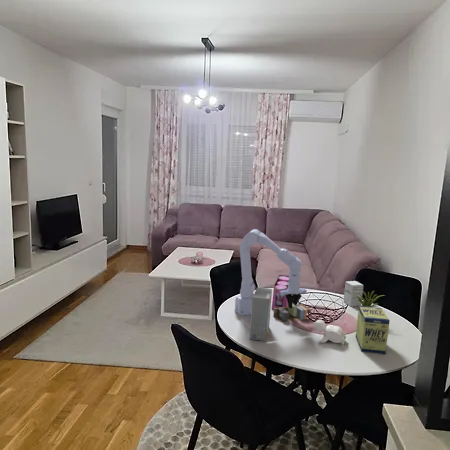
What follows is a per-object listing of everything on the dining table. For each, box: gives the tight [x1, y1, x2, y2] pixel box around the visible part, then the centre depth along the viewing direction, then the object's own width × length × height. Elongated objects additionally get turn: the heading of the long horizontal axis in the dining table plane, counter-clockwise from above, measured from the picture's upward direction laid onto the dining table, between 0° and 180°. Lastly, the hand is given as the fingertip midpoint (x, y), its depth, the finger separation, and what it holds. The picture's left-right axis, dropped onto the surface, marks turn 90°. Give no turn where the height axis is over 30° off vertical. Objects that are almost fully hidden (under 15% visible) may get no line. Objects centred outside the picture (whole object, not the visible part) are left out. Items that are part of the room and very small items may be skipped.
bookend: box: [278, 308, 289, 323], centre depth 208 cm, size 3×6×4 cm, turn 22°
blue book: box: [296, 305, 304, 321], centre depth 212 cm, size 2×6×5 cm, turn 22°
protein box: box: [355, 306, 390, 355], centre depth 184 cm, size 10×16×16 cm
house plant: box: [356, 289, 386, 308], centre depth 212 cm, size 14×14×16 cm
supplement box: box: [342, 280, 364, 307], centre depth 236 cm, size 7×7×13 cm
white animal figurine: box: [313, 319, 347, 347], centre depth 188 cm, size 9×8×15 cm
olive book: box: [287, 304, 298, 316], centre depth 209 cm, size 2×6×5 cm, turn 22°
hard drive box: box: [249, 286, 273, 342], centre depth 190 cm, size 16×8×20 cm, turn 168°
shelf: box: [272, 303, 312, 324], centre depth 211 cm, size 17×8×6 cm, turn 112°
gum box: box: [271, 274, 289, 310], centre depth 230 cm, size 24×8×14 cm, turn 165°
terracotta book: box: [299, 304, 308, 320], centre depth 212 cm, size 2×6×5 cm, turn 22°
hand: (292, 307), depth 209 cm, fingers closed on olive book, 2 cm apart
